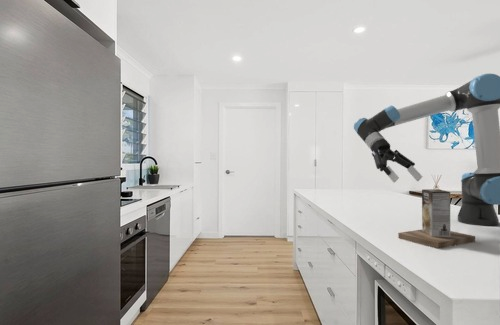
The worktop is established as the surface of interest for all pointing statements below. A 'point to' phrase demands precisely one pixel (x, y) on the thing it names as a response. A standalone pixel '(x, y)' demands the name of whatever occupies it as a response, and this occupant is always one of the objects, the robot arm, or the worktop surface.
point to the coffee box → (436, 212)
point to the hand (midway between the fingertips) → (408, 179)
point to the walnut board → (436, 239)
